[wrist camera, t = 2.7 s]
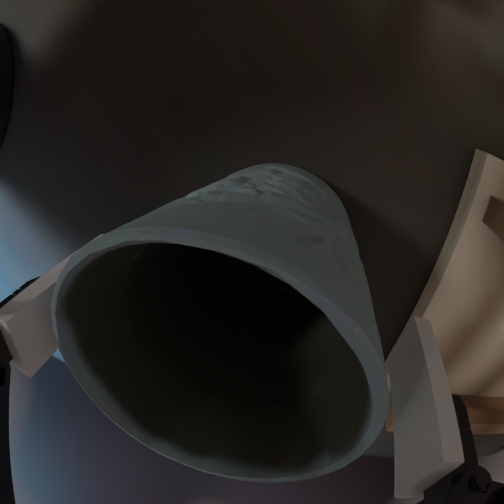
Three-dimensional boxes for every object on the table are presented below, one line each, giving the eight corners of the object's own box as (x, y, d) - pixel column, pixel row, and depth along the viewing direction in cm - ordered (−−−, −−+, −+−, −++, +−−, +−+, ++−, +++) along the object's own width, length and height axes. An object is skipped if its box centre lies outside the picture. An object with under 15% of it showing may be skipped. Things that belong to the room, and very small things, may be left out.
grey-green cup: (313, 327, 20) (286, 500, 10) (174, 267, 21) (64, 402, 10) (392, 193, 15) (480, 357, 5) (217, 117, 16) (38, 164, 5)
